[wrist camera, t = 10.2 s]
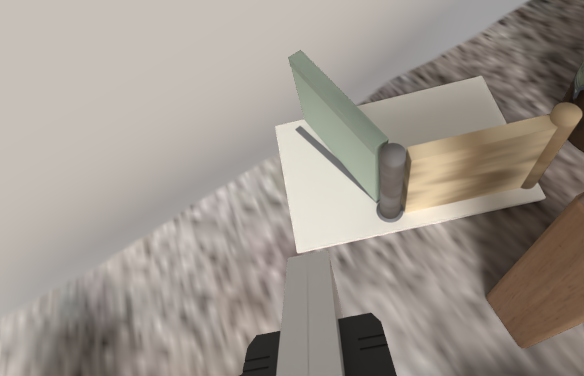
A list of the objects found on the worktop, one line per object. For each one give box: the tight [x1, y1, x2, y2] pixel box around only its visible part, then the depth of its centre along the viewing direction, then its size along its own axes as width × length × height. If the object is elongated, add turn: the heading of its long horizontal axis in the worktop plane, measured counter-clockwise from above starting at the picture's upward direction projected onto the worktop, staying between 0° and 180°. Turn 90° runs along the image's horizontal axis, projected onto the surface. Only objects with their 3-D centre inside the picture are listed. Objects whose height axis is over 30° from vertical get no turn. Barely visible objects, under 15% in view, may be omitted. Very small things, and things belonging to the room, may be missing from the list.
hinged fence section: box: [288, 50, 389, 202], centre depth 37 cm, size 12×1×9 cm, turn 33°
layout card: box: [275, 76, 546, 253], centre depth 41 cm, size 22×14×1 cm, turn 100°
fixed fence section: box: [380, 102, 582, 219], centre depth 34 cm, size 14×2×10 cm, turn 100°
